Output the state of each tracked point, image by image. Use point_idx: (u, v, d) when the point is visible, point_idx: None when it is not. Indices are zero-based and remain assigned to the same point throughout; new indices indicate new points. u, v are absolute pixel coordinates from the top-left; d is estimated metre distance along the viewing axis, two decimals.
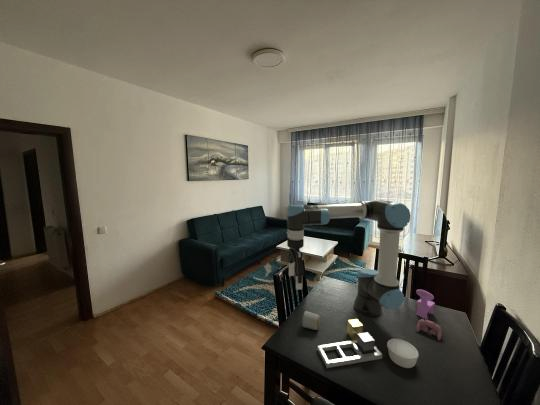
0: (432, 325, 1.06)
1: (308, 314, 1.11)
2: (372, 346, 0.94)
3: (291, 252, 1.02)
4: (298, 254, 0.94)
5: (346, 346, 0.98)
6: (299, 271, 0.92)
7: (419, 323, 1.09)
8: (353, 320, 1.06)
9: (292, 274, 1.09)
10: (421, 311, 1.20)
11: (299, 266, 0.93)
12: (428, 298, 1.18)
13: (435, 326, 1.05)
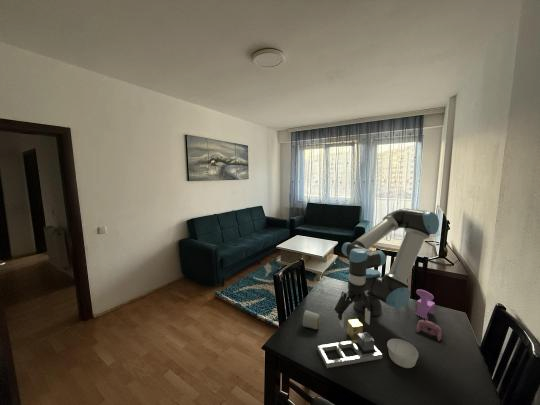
0: (432, 326, 1.05)
1: (308, 313, 1.11)
2: (372, 346, 0.94)
3: None
4: (342, 293, 1.02)
5: (346, 346, 0.98)
6: (336, 306, 1.03)
7: (419, 324, 1.09)
8: (353, 320, 1.06)
9: (366, 321, 1.05)
10: (421, 311, 1.20)
11: (338, 303, 1.02)
12: (428, 298, 1.18)
13: (435, 327, 1.05)
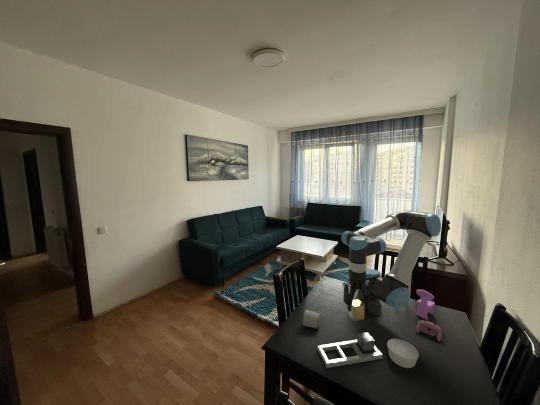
0: (432, 326, 1.05)
1: (308, 313, 1.12)
2: (372, 346, 0.94)
3: None
4: (343, 285, 1.02)
5: (346, 346, 0.98)
6: (344, 298, 1.03)
7: (419, 324, 1.08)
8: (354, 301, 1.06)
9: None
10: (421, 311, 1.20)
11: (344, 294, 1.03)
12: (428, 298, 1.18)
13: (435, 327, 1.04)
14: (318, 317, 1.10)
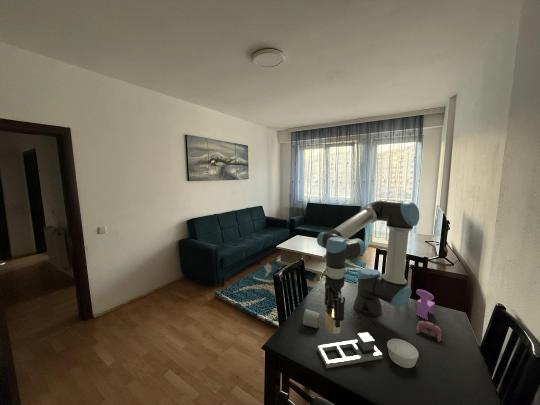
0: (432, 327, 1.05)
1: (309, 312, 1.12)
2: (372, 346, 0.94)
3: (329, 291, 0.91)
4: (341, 300, 0.84)
5: (346, 346, 0.98)
6: (339, 317, 0.85)
7: (419, 325, 1.08)
8: (329, 313, 0.91)
9: None
10: (421, 311, 1.20)
11: (340, 312, 0.84)
12: (428, 298, 1.18)
13: (435, 328, 1.04)
14: (318, 316, 1.10)
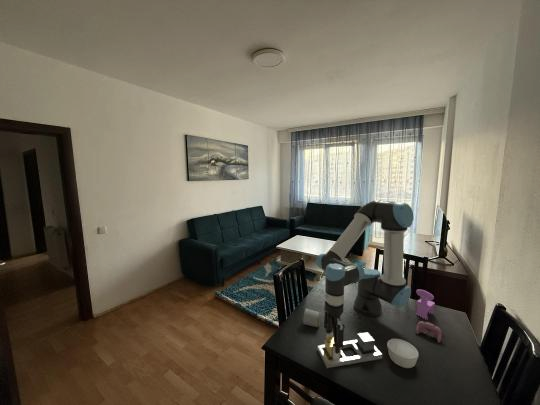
0: (432, 327, 1.04)
1: (309, 311, 1.13)
2: (372, 346, 0.94)
3: (329, 316, 0.92)
4: (340, 327, 0.85)
5: (346, 346, 0.98)
6: (338, 344, 0.86)
7: (419, 325, 1.08)
8: (329, 342, 0.92)
9: None
10: (421, 311, 1.20)
11: (339, 339, 0.86)
12: (428, 298, 1.18)
13: (435, 328, 1.04)
14: (318, 316, 1.11)
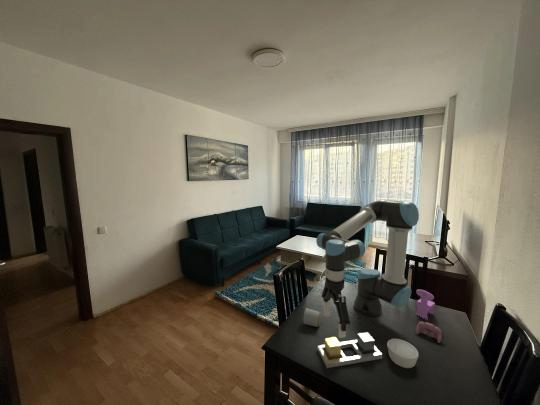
0: (432, 328, 1.04)
1: (309, 311, 1.13)
2: (372, 346, 0.94)
3: (329, 293, 0.91)
4: (341, 299, 0.83)
5: (346, 346, 0.98)
6: (344, 319, 0.81)
7: (419, 325, 1.07)
8: (329, 342, 0.92)
9: (328, 314, 0.98)
10: (421, 311, 1.20)
11: (343, 313, 0.82)
12: (428, 298, 1.18)
13: (435, 329, 1.03)
14: (318, 315, 1.11)
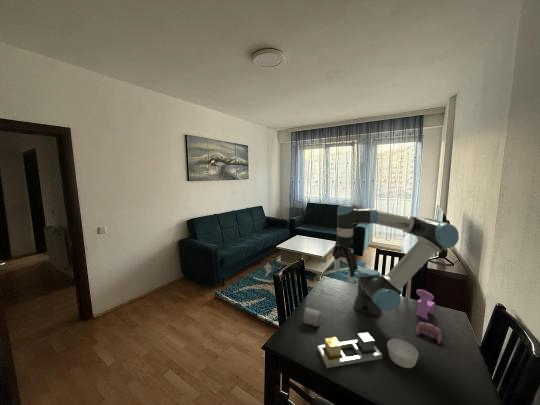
0: (432, 328, 1.04)
1: (309, 311, 1.14)
2: (372, 346, 0.94)
3: (340, 248, 1.10)
4: (351, 250, 1.02)
5: (346, 346, 0.98)
6: (353, 266, 1.00)
7: (419, 326, 1.07)
8: (329, 342, 0.92)
9: (337, 269, 1.17)
10: (421, 311, 1.20)
11: (352, 261, 1.01)
12: (428, 298, 1.18)
13: (435, 329, 1.03)
14: (318, 315, 1.11)
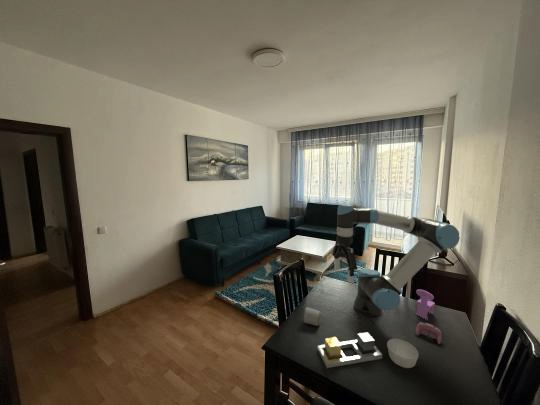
0: (432, 328, 1.03)
1: (309, 310, 1.14)
2: (372, 346, 0.94)
3: (340, 248, 1.10)
4: (350, 249, 1.03)
5: (346, 346, 0.98)
6: (352, 265, 1.01)
7: (418, 326, 1.07)
8: (329, 342, 0.92)
9: (337, 269, 1.17)
10: (421, 311, 1.20)
11: (352, 260, 1.01)
12: (428, 298, 1.18)
13: (435, 329, 1.03)
14: (319, 314, 1.12)
